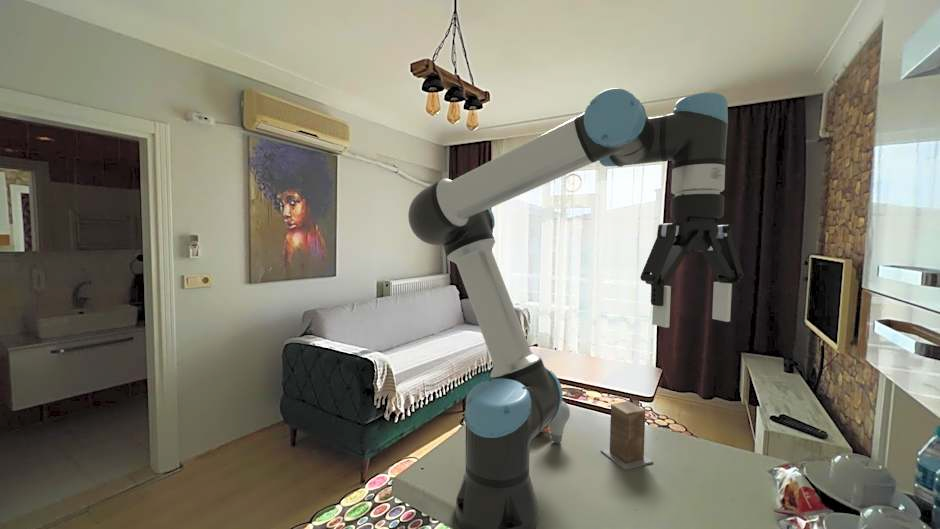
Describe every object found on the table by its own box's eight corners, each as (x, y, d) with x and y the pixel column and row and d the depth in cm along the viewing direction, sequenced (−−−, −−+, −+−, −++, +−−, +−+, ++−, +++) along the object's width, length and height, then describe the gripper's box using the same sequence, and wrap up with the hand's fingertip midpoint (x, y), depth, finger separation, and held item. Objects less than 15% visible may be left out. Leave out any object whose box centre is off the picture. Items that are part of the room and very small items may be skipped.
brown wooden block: (625, 463, 86) (627, 413, 86) (609, 451, 91) (611, 404, 91) (643, 459, 88) (645, 410, 87) (627, 447, 93) (628, 401, 92)
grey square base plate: (624, 470, 85) (625, 437, 84) (600, 451, 92) (601, 421, 92) (652, 463, 87) (654, 431, 87) (627, 445, 95) (628, 416, 94)
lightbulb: (567, 437, 99) (568, 395, 98) (570, 450, 93) (571, 405, 92) (542, 436, 99) (543, 394, 99) (545, 448, 93) (546, 404, 93)
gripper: (656, 187, 55) (651, 333, 56) (772, 195, 64) (766, 322, 65) (619, 193, 62) (615, 323, 63) (728, 200, 71) (723, 314, 72)
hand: (691, 323), depth 64 cm, fingers open, 13 cm apart
